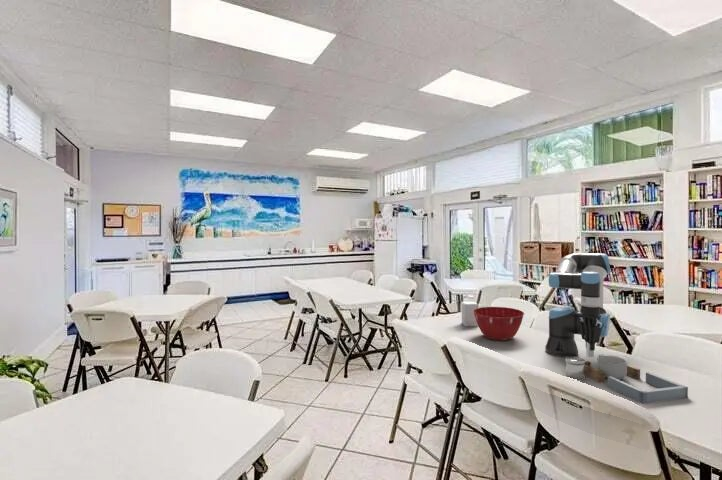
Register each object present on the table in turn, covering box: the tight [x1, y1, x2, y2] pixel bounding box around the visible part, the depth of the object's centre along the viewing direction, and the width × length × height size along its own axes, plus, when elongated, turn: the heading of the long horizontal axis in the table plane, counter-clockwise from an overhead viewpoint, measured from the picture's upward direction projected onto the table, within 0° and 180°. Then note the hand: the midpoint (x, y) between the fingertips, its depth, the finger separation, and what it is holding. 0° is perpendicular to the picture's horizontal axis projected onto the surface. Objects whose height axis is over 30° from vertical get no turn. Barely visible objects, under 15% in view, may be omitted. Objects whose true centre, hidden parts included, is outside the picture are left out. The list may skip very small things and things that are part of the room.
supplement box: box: [461, 301, 479, 327], centre depth 257 cm, size 9×9×15 cm
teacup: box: [596, 354, 628, 381], centre depth 166 cm, size 14×11×8 cm
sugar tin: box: [564, 356, 586, 382], centre depth 165 cm, size 7×7×8 cm
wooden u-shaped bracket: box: [584, 360, 641, 384], centre depth 168 cm, size 14×19×4 cm
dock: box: [607, 371, 689, 404], centre depth 150 cm, size 16×20×4 cm
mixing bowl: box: [473, 306, 525, 341], centre depth 227 cm, size 28×28×15 cm
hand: (590, 356), depth 177 cm, fingers closed
